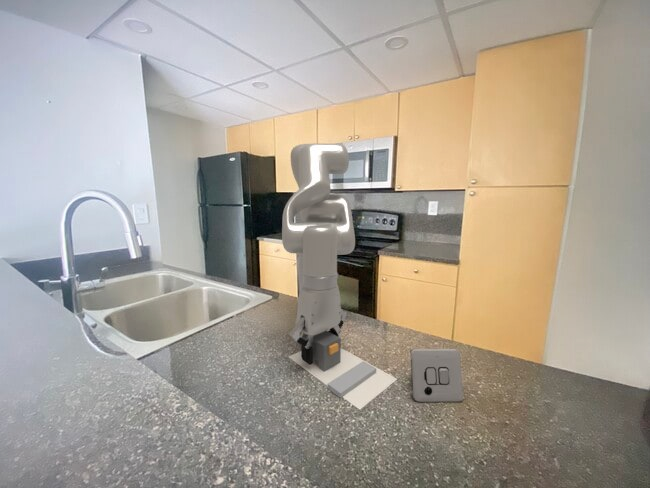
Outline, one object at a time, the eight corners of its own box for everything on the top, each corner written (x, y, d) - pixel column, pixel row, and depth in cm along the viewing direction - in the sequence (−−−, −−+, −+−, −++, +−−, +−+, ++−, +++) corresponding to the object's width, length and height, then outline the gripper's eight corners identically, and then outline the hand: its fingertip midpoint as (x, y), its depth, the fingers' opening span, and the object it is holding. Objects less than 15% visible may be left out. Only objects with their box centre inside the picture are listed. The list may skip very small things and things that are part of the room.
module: (317, 348, 66) (317, 326, 65) (342, 363, 59) (342, 338, 58) (301, 356, 62) (301, 332, 61) (326, 373, 56) (326, 347, 55)
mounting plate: (325, 343, 70) (325, 335, 70) (397, 384, 54) (397, 374, 54) (286, 362, 62) (286, 353, 62) (357, 417, 46) (357, 405, 46)
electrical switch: (414, 403, 49) (415, 355, 49) (405, 386, 54) (406, 343, 54) (463, 403, 49) (465, 355, 49) (450, 386, 54) (451, 343, 54)
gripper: (335, 271, 67) (335, 336, 69) (277, 285, 55) (280, 363, 58) (358, 277, 61) (357, 347, 64) (298, 294, 50) (300, 379, 52)
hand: (320, 354), depth 61 cm, fingers open, 7 cm apart
